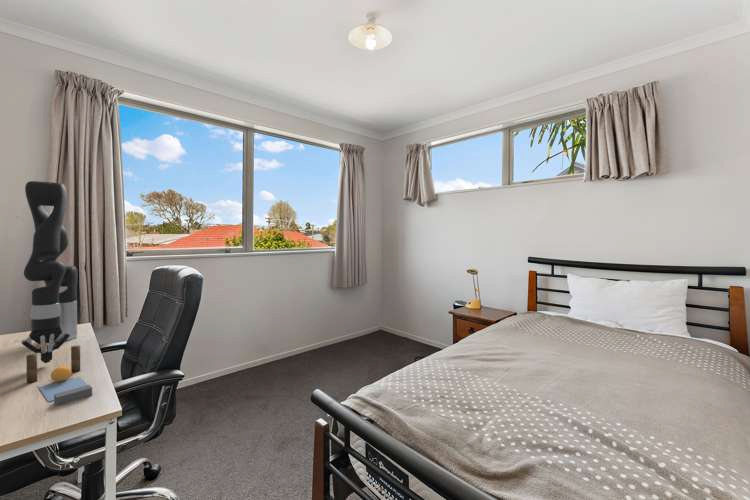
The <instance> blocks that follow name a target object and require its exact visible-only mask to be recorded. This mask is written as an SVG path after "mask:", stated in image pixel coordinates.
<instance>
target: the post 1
mask: <svg viewBox="0 0 750 500" xmlns="http://www.w3.org/2000/svg"><path fill="white" fill-rule="evenodd" d="M25 358H26V383H27V384H34V383H36V382H38V353H30V354H27V355H26V357H25Z"/></svg>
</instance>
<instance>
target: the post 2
mask: <svg viewBox="0 0 750 500" xmlns="http://www.w3.org/2000/svg"><path fill="white" fill-rule="evenodd" d="M70 352H71V354H70V360H71V361H70V363H71V364H70V366H71V367H70V369H71V374H72V373H78V372H81V345H78V344H77V345H73V346H71V347H70Z"/></svg>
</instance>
